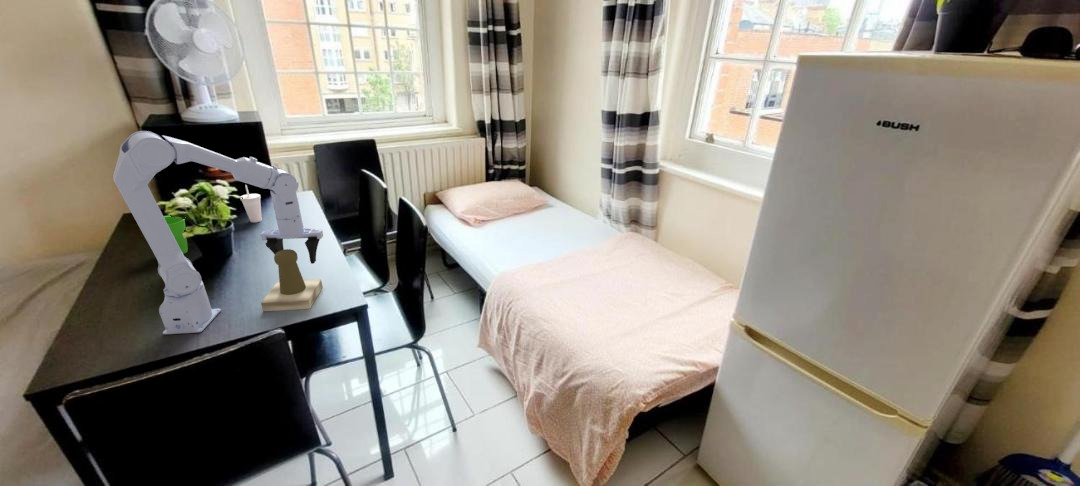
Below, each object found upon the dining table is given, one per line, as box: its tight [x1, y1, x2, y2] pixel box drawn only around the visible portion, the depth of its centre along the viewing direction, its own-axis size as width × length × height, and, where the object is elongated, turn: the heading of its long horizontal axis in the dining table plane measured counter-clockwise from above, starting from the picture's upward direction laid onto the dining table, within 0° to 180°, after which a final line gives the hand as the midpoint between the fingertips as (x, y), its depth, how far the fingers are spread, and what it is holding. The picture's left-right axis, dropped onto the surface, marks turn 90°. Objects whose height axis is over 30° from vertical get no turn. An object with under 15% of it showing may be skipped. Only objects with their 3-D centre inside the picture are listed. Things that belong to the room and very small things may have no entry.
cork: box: [273, 248, 306, 295], centre depth 111 cm, size 6×6×11 cm
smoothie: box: [239, 184, 263, 223], centre depth 158 cm, size 6×6×14 cm
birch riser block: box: [260, 278, 323, 312], centre depth 113 cm, size 11×11×2 cm
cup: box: [163, 215, 189, 255], centre depth 133 cm, size 9×9×11 cm
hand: (298, 262), depth 117 cm, fingers open, 7 cm apart
